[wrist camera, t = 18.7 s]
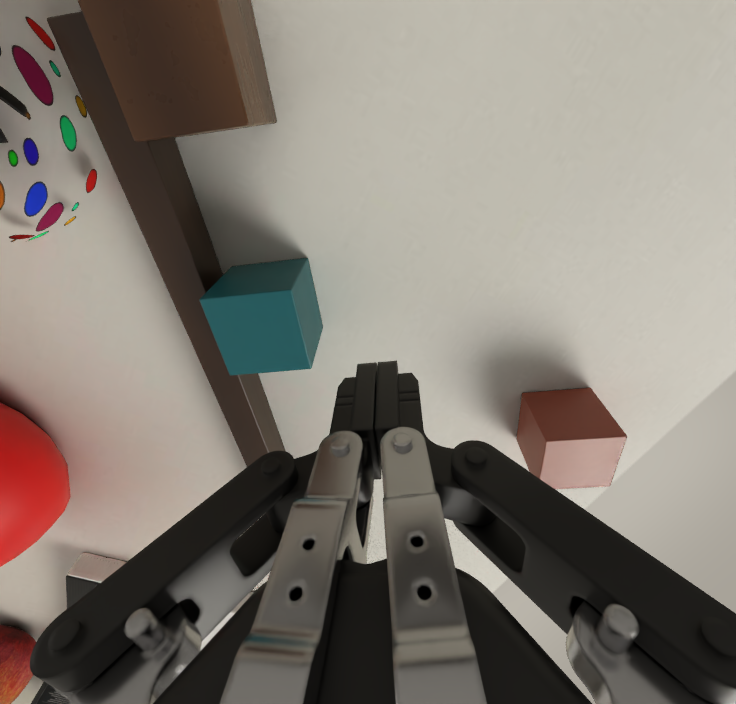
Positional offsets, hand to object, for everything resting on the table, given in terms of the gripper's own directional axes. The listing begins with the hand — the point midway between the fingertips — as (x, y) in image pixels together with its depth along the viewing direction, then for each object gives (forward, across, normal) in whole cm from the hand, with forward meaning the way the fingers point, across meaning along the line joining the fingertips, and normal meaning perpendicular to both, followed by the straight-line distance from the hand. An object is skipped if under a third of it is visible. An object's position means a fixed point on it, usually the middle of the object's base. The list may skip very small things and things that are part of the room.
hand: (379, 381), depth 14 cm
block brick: (+9, -11, +11) cm, 18 cm away
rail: (+9, +10, +9) cm, 16 cm away
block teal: (+9, +6, 0) cm, 11 cm away
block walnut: (+9, +6, -11) cm, 15 cm away
